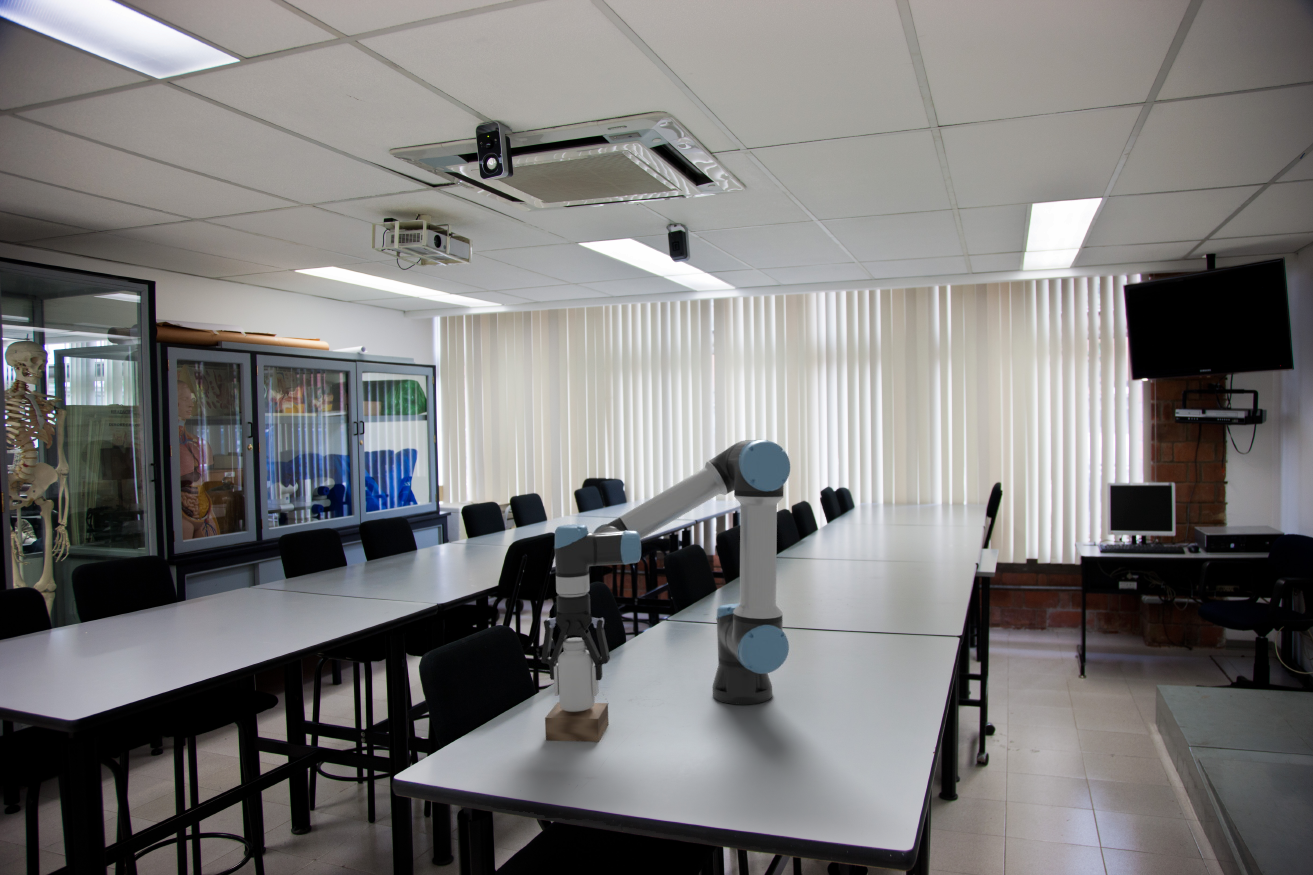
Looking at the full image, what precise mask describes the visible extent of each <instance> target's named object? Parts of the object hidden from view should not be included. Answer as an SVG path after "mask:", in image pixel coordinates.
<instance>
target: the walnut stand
mask: <svg viewBox="0 0 1313 875" xmlns="http://www.w3.org/2000/svg"><path fill="white" fill-rule="evenodd" d="M544 722H545V723H544V725H545V726H544V727H545V730H544V731H545V741H546V742H547V741H548V742H549V741H550V742H552V741H553V742H556V741H557V742H584V743H585V742H592V743H594V742H595V743H599V742H600V741H601V739H602V737H603V735H604V733H605V732H606V730H607V728H608V726H609V704H608V702H595V703H594V706H593V707H592V708H590V709H587V710H584V711H577V712H571V711H565V710H563V709H561V707H560V702H559V701H558V702H557V703H555V705H554V706H553V708H552V709H551V710H550V711H549V712H548V714H547V715H546V716H545V717H544Z"/></svg>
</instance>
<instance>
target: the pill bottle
mask: <svg viewBox="0 0 1313 875" xmlns="http://www.w3.org/2000/svg"><path fill="white" fill-rule="evenodd" d="M562 650H563V652H562V651H561V652H560V655H559V657H558V660H557V663H558V676H559V695H558V697H559V698H558V699H559V701H558V702H560V707H561V709H563V710H565V711H571V712H577V711H584V710H587V709H590V708H592V707H593V706H594V703H596V702H595V701H596V700H595V699H596V698H595V697H596V696H593V689H592V666H593V665H594V662H593V660H592V657H591V655H590V653H589V651H588V649H587V647H586V645H585V642H584V640H583V639H582V638H581V637H579V636H576V637H569V638H566V639H565V640H564V641H563V647H562Z"/></svg>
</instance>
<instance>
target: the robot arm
mask: <svg viewBox="0 0 1313 875" xmlns="http://www.w3.org/2000/svg"><path fill="white" fill-rule="evenodd" d="M790 472H791V461H790V458H789V456H788V454H787V452H786V451H785V449H783V447H782V446H781V445H779V444H778V443H776V442H774V441H769V440H768V439H761V438H760V439H752V440H751V439H748V440H747V439H746V440H741V441H738V442H736V443H734V444H733V445H731V446H729V447H728V448H726V449H725V450H722V452H720V453H719V454H717V455H716V456H715V457H713V458H711V459H709V460H708V461H706V462H705V465H704V467H703V468H701V469H700V470H698V471H696V472H695V473H693V474H692V475H690V476H687V477H686V478H684V479H682V480H681V481H679V482H678V483H676V484H674V485H673V486H670V487H669V488H667V489H666V490H664V491H662V492H660V493H658V494H657V495H655V496H653V497H651V498H649V499H648V500H647V501H644V502H643V503H641V504H640V505H638V506H636V507H635V508H633V509H631V510H629V511H627V512H625V513H624V514H623V515H621V516H619V517H618V518H616V519H614V520H612V521H610V522H609V523H603V524H601V525H599V526H598V527H596V528H595V530H594V531H593V532H589V530H588V526H587V525H586V524H579V523H577V524H563V525H559V526H558V527H556V529H555V530H554V561H555V562H554V563H555V565H554V566H555V590H556V593H557V596H556V616H555V617H553V618H551V617H547V618H546V619H545V620H543V627H544V636H543V645H542V651H541V658H540V663H541V664H546V665H548V666H549V679H550V680H551V681H553V682H554V683H553V684H554V686H553V687H554V696H555V697H556V696H557V697H559V676H558V657H559V655H560V654H561V653H562V650H563V641H564V640H565V639H567V637H568V636H569V637H570V636H575V637H579V636H580V638H582V639H583V640H584V642H585V645H586V647H587V649H586V650H588V651H589V653H590V655H591V657H592V660H593V666H592V689H593V696H595V697H597V696H598V694H599V692H600V690H599V687H600V686H599V681H601V680H602V678H603V665H606V664H608V663H609V661H610V660H611V657H610V656H611V655H610V651H609V646H608V642H607V638H606V632H605V629H604V627H605V621H606V620H605V617H600V618H598V617H593V615H592V613H591V595H590V594H589V592H590V586H591V585H590V567H596V566H611V565H613V566H614V565H615V566H616V565H617V566H618V565H629V564H636V563H639V562H640V561H641V557H642V543H641V540H642V539H644V538H646V537H648V536H649V535H651V534H653V533H655V532H657V531H658V530H660V529H661V528H664V527H665V526H667V525H668V524H670V523H672V522H674V521H676V520H677V519H679V518H680V517H682V516H683V515H686V514H687V513H689V512H691V511H692V510H694V509H696V508H698V507H700V506H701V505H703V504H705V503H706V502H708V501H709V500H711V499H713V498H715V497H717V496H718V495H723V496H726V495H728V494H730V493H731V492H733V491H734V492H733V493H734V494H733V496H734V498H735V499H736V501H738V503H739V505H740V507H739V508H740V511H739V512H740V513H739V514H740V515H739V516H740V519H739V520H740V521H739V522H740V523H739V524H740V525H739V526H740V527H739V531H740V532H739V536H740V538H739V539H740V540H739V602H738V603H729V604H722V605H720V606H718V607H717V610H716V618H715V620H716V631H717V633H716V634H717V658H718V659H717V660H718V661H717V662H718V665H717V670H716V673H715V676H714V680H713V683H712V686H711V687H712V697H713V698H714V699H715V700H716V701H718V702H721V703H725V704H730V705H739V706H740V705H742V706H743V705H744V706H745V705H754V704H755V705H756V704H760V703H763V702H767V701H769V700H771V698H772V697H773V684H772V681H771V679H770V676H769V673H773V672H775V671H776V670H779V668H780V667H781V666H782V665H783V664H784V663H785V662H786V661H787V658H788V655H789V651H790V644H789V640H788V637H787V635H786V633H785V632H784V631H783V624H784V623H783V615H784V614H783V611H782V610H781V609H780V608H779V607H778V605H777V552H778V551H777V549H778V548H777V542H778V541H777V540H778V539H777V538H778V537H777V535H778V534H777V532H778V531H777V528H778V527H777V525H778V521H777V520H778V513H777V512H778V503H780V502H781V501H782V499H783V498H784V487H785V486H784V484H785V483H786V482H787V481H788V479H789V476H790ZM591 624H593V628H594V629H595V630H596V636H597V642H598V646H599V650H600V652H599V650H598V648H597V646H596V643H595V641H594V639H593V637H592V635H591V634H592V633H591V631H590V628H589V626H591ZM556 625H557V626H558V628H560V633H559V635H558V639H557V641H556V644H555V646H554V649H553V652H552V654H551V647H552V642H553V641H552V639H553V635H554V634H553V633H554V628H555V626H556ZM550 654H551V657H550Z"/></svg>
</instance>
